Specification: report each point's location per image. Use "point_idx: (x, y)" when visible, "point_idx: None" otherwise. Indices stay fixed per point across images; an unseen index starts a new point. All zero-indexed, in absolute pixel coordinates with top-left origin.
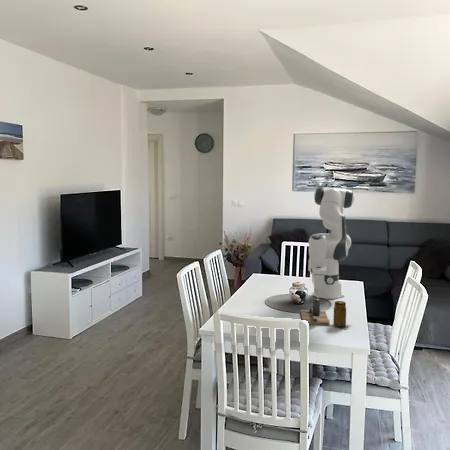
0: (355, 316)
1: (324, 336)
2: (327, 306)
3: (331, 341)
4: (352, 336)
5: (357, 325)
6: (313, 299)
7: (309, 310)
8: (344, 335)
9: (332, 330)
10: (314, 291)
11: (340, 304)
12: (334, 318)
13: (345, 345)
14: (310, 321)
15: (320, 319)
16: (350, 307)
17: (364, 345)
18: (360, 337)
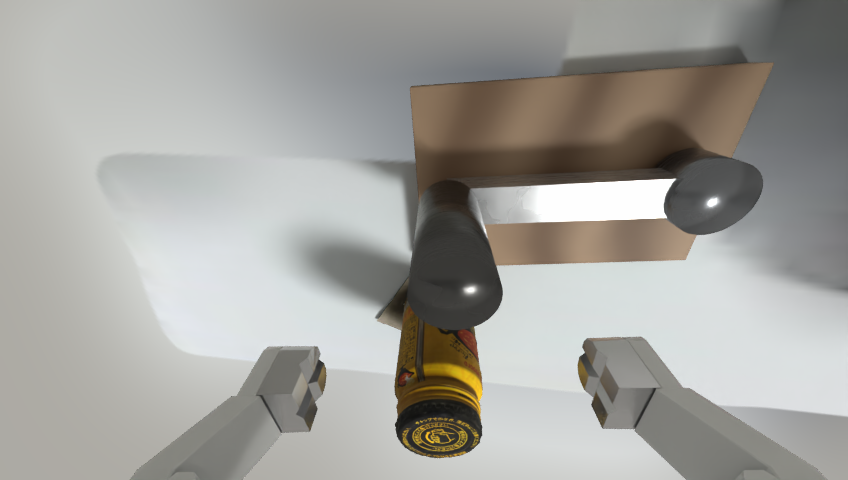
0: None
1: (230, 221)
2: (833, 272)
3: (173, 248)
4: (291, 332)
5: None
6: (456, 265)
7: (687, 151)
8: (290, 306)
9: (346, 265)
10: (597, 352)
11: (396, 428)
12: None
13: (159, 298)
14: (429, 150)
15: None
16: (750, 371)
17: (205, 355)
18: None
